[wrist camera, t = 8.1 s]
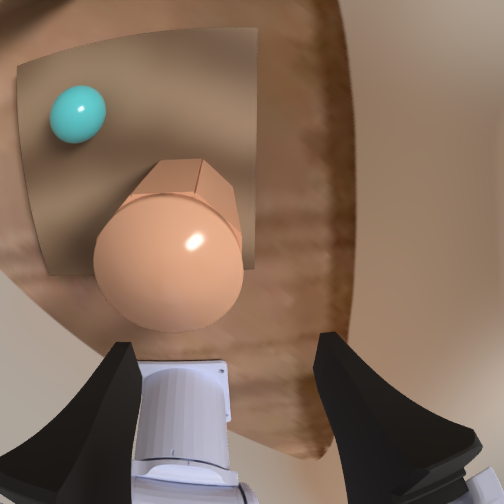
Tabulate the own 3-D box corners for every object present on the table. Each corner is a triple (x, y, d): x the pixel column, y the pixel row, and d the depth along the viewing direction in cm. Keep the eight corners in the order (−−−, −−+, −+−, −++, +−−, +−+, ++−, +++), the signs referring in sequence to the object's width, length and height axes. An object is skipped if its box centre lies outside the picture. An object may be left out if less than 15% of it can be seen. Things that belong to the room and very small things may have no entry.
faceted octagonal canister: (232, 250, 18) (242, 331, 12) (141, 253, 18) (111, 331, 12) (233, 157, 16) (244, 197, 10) (131, 162, 15) (80, 205, 9)
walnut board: (252, 259, 20) (254, 269, 19) (55, 267, 19) (49, 275, 18) (254, 32, 14) (257, 27, 13) (27, 66, 12) (16, 66, 11)
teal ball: (115, 135, 14) (95, 143, 12) (67, 142, 14) (41, 152, 12) (112, 81, 13) (92, 78, 10) (64, 91, 13) (37, 92, 10)
